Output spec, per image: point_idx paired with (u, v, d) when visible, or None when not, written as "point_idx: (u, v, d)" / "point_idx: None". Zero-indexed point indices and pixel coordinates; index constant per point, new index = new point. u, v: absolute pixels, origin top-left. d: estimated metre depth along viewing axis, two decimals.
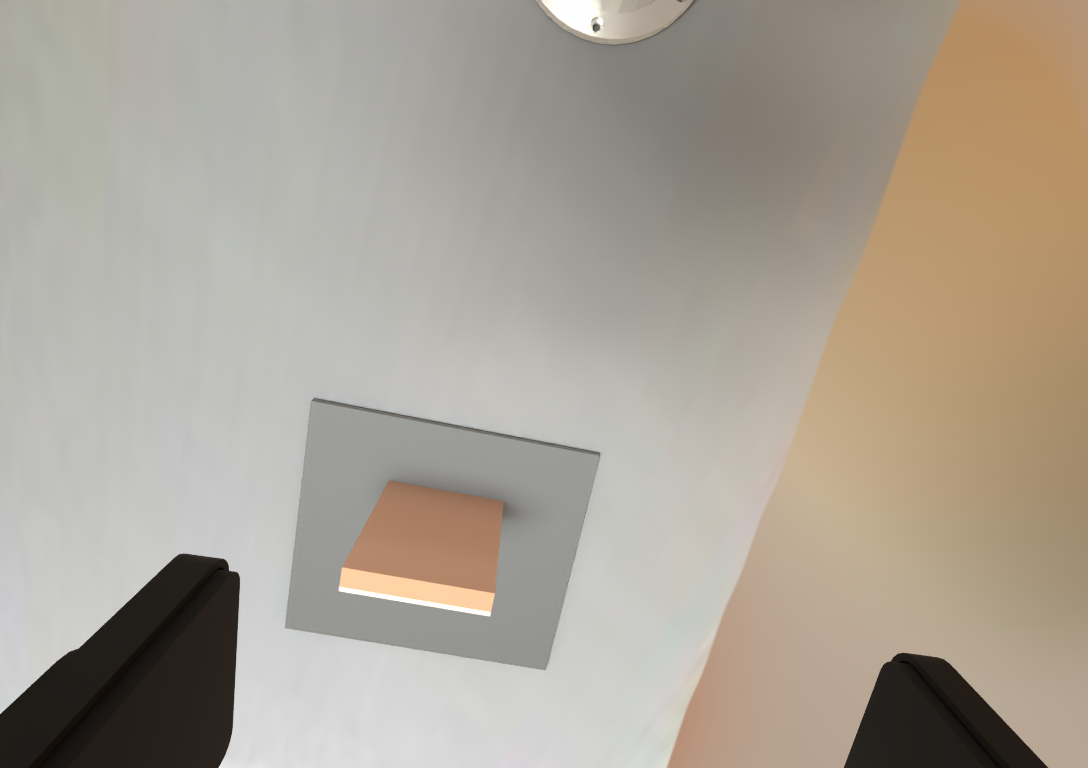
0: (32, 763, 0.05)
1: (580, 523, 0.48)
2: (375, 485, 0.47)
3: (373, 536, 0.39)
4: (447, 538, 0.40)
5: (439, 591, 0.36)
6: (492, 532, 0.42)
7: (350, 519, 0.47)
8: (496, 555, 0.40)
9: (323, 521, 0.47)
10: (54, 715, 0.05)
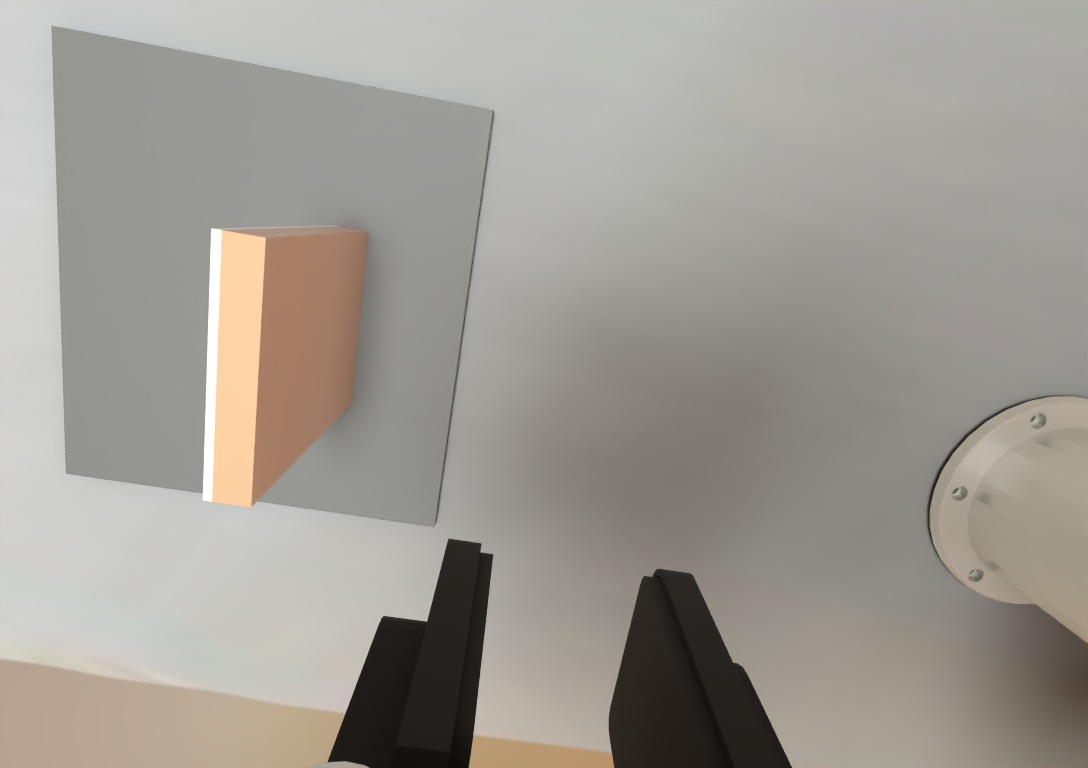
0: (458, 693, 0.06)
1: (328, 508, 0.34)
2: (357, 209, 0.29)
3: (308, 259, 0.22)
4: (311, 369, 0.25)
5: (240, 415, 0.20)
6: (321, 423, 0.27)
7: (291, 164, 0.29)
8: (296, 457, 0.24)
9: (281, 116, 0.28)
10: (448, 659, 0.07)
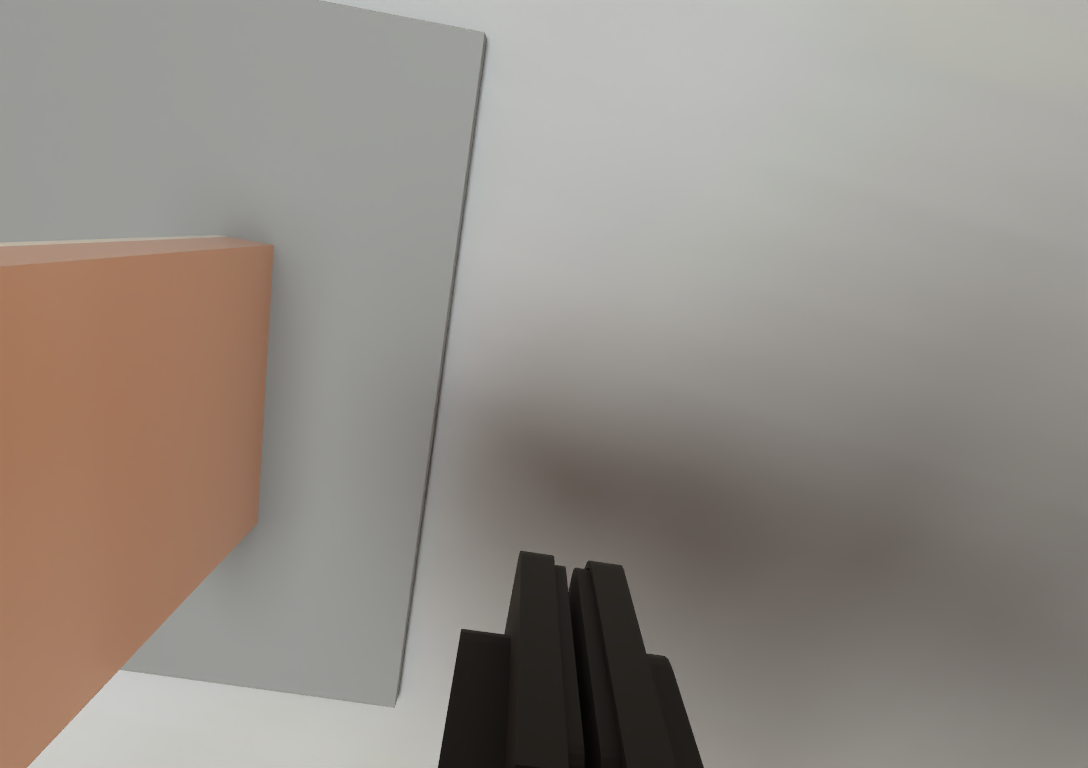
0: (565, 709, 0.06)
1: (228, 680, 0.21)
2: (253, 207, 0.17)
3: (54, 318, 0.10)
4: (114, 526, 0.12)
5: None
6: (166, 598, 0.15)
7: (136, 129, 0.17)
8: (79, 705, 0.12)
9: (114, 44, 0.16)
10: (547, 675, 0.07)
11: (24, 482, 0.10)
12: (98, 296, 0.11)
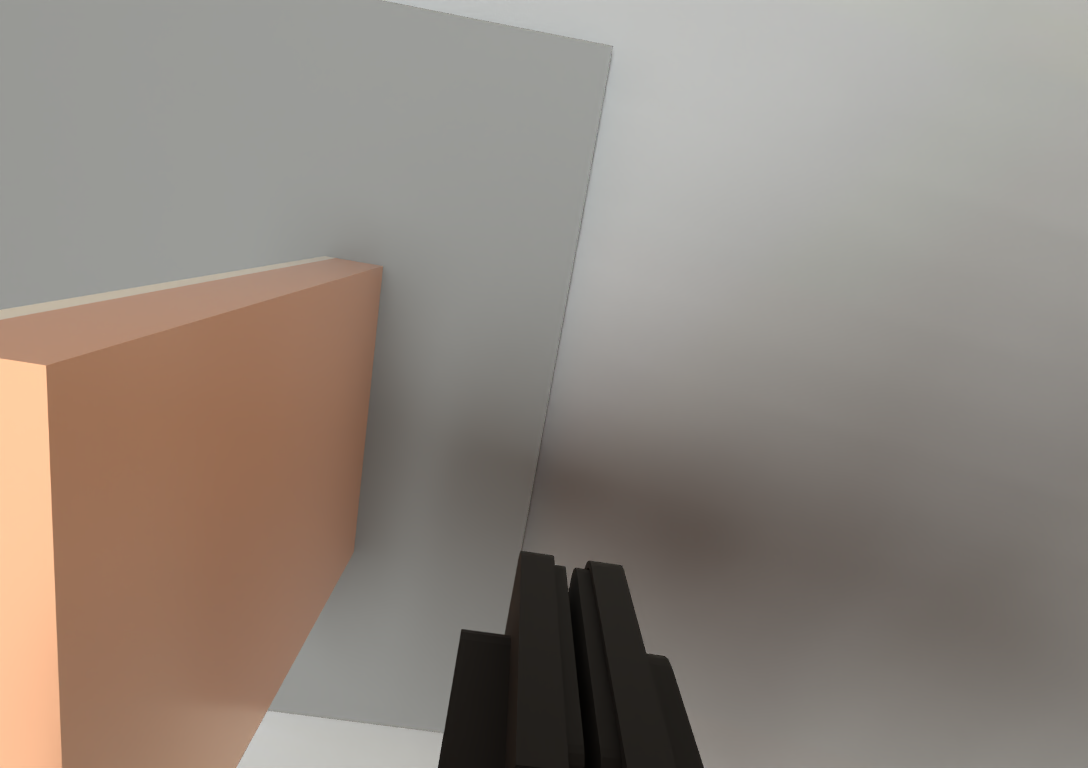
0: (565, 710, 0.06)
1: (316, 712, 0.21)
2: (363, 227, 0.17)
3: (245, 365, 0.09)
4: (268, 576, 0.12)
5: None
6: (294, 642, 0.14)
7: (244, 146, 0.16)
8: (234, 766, 0.11)
9: (225, 58, 0.15)
10: (547, 675, 0.07)
11: (214, 542, 0.09)
12: (274, 337, 0.10)
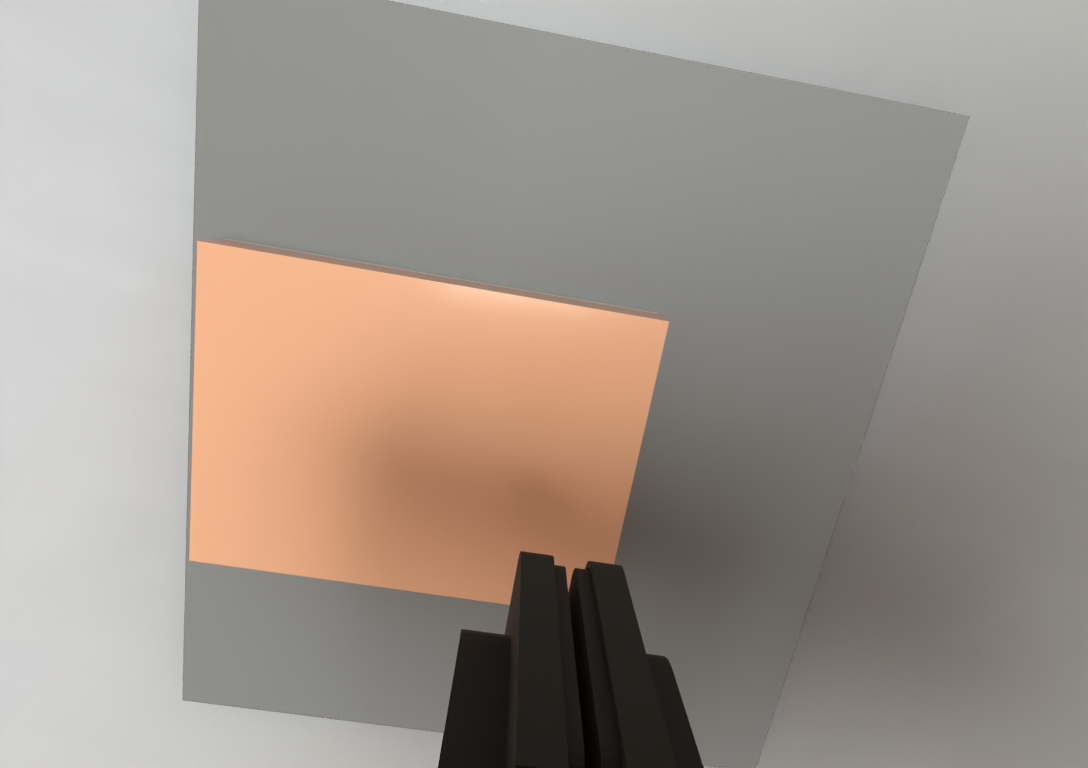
0: (565, 709, 0.06)
1: None
2: (706, 286, 0.17)
3: (348, 302, 0.15)
4: (384, 473, 0.17)
5: None
6: (436, 576, 0.18)
7: (603, 210, 0.16)
8: (334, 576, 0.17)
9: (597, 128, 0.16)
10: (547, 675, 0.07)
11: (312, 394, 0.16)
12: (389, 300, 0.15)
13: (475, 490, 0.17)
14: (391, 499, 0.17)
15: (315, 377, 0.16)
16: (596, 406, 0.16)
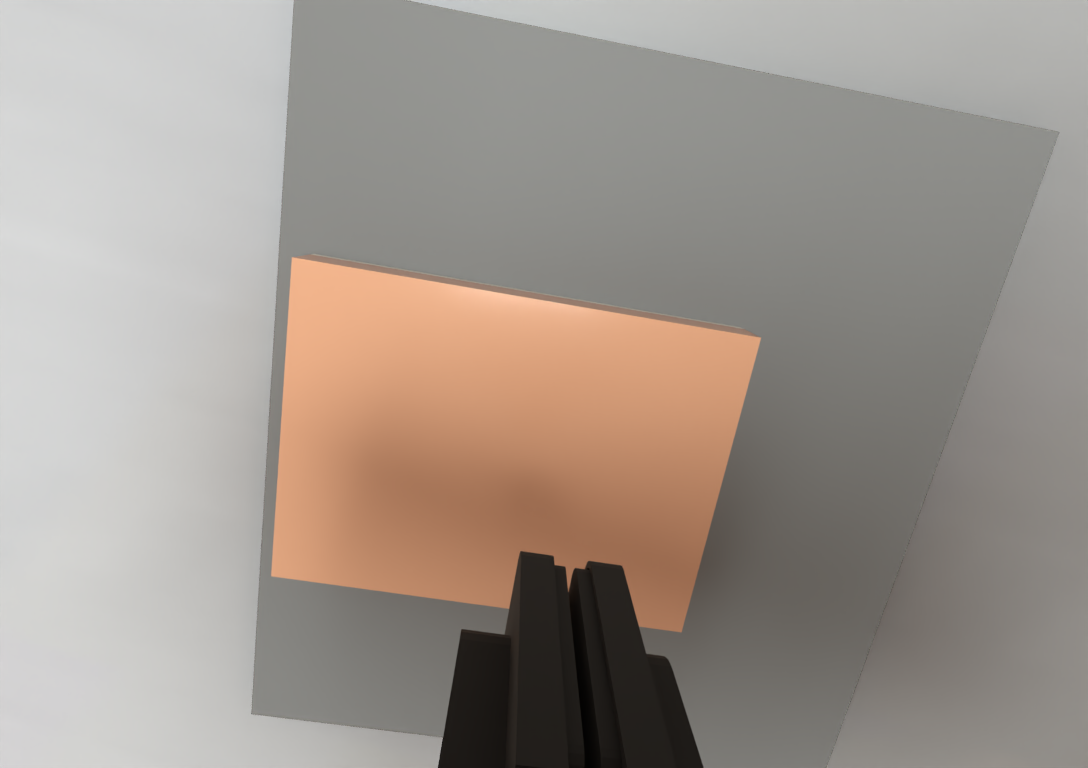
0: (565, 710, 0.06)
1: None
2: (790, 301, 0.17)
3: (440, 318, 0.15)
4: (470, 489, 0.17)
5: None
6: None
7: (690, 226, 0.16)
8: (416, 591, 0.17)
9: (687, 143, 0.16)
10: (547, 675, 0.07)
11: (401, 410, 0.16)
12: (481, 316, 0.15)
13: (560, 506, 0.17)
14: (476, 515, 0.17)
15: (405, 393, 0.16)
16: (685, 422, 0.16)
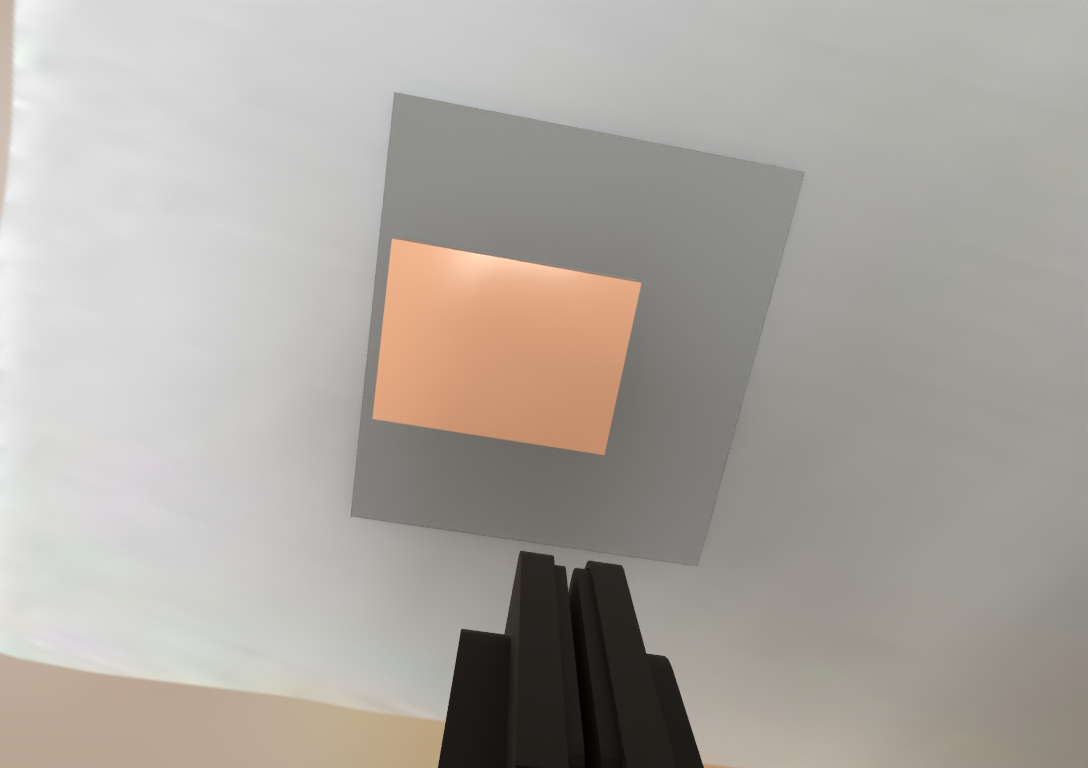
0: (565, 709, 0.06)
1: (598, 549, 0.35)
2: (663, 265, 0.31)
3: (469, 271, 0.29)
4: (484, 368, 0.30)
5: None
6: (511, 429, 0.31)
7: (605, 222, 0.30)
8: (453, 429, 0.31)
9: (603, 178, 0.29)
10: (547, 675, 0.07)
11: (447, 322, 0.29)
12: (491, 270, 0.29)
13: (534, 378, 0.30)
14: (487, 383, 0.30)
15: (449, 313, 0.29)
16: (602, 330, 0.30)
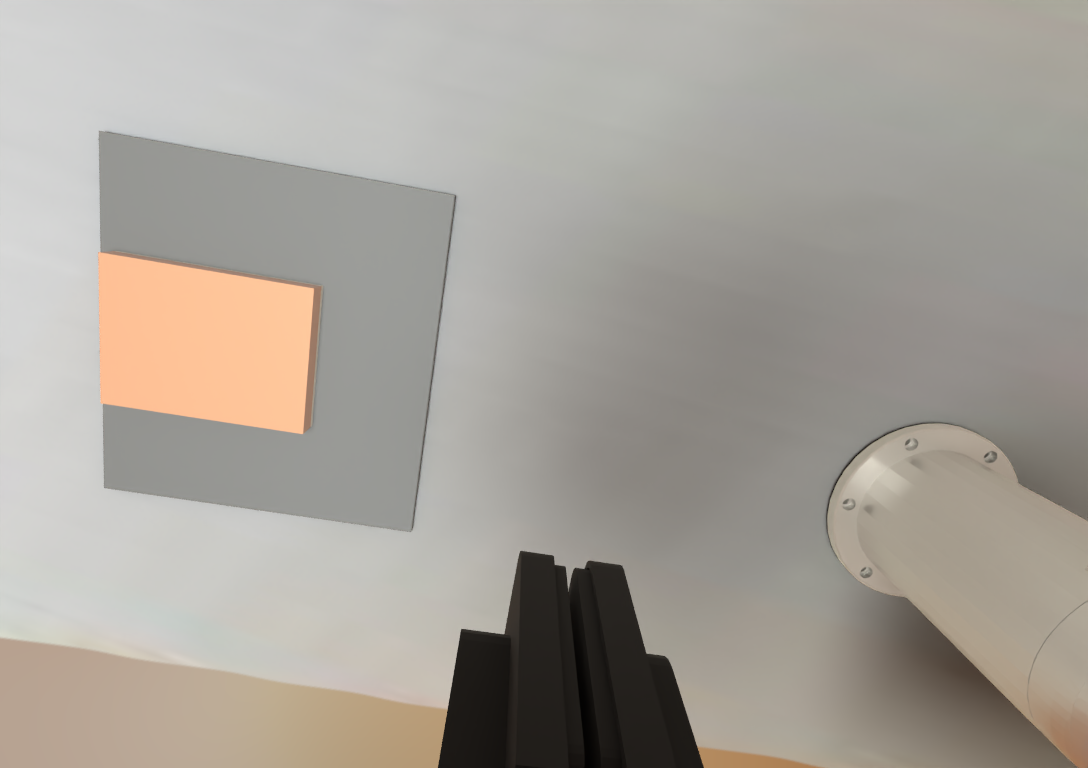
0: (565, 709, 0.06)
1: (322, 516, 0.40)
2: (345, 273, 0.36)
3: (167, 279, 0.34)
4: (190, 360, 0.36)
5: None
6: (220, 412, 0.37)
7: (291, 237, 0.36)
8: (171, 411, 0.36)
9: (283, 200, 0.35)
10: (547, 675, 0.07)
11: (154, 321, 0.35)
12: (185, 278, 0.34)
13: (234, 368, 0.36)
14: (194, 373, 0.36)
15: (155, 314, 0.35)
16: (286, 328, 0.35)
